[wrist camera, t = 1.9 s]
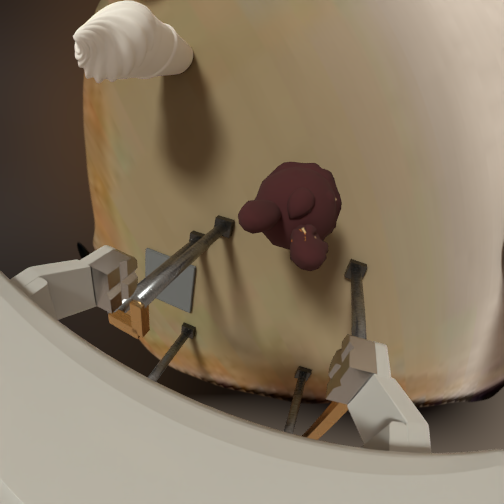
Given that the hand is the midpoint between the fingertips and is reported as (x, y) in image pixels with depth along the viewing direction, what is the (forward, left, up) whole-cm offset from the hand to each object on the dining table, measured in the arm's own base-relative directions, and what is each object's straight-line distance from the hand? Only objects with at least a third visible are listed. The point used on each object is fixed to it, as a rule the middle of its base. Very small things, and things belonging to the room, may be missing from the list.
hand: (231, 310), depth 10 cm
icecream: (0, 0, -22) cm, 22 cm away
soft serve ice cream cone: (+18, -12, -22) cm, 30 cm away
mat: (+15, +18, -21) cm, 31 cm away
